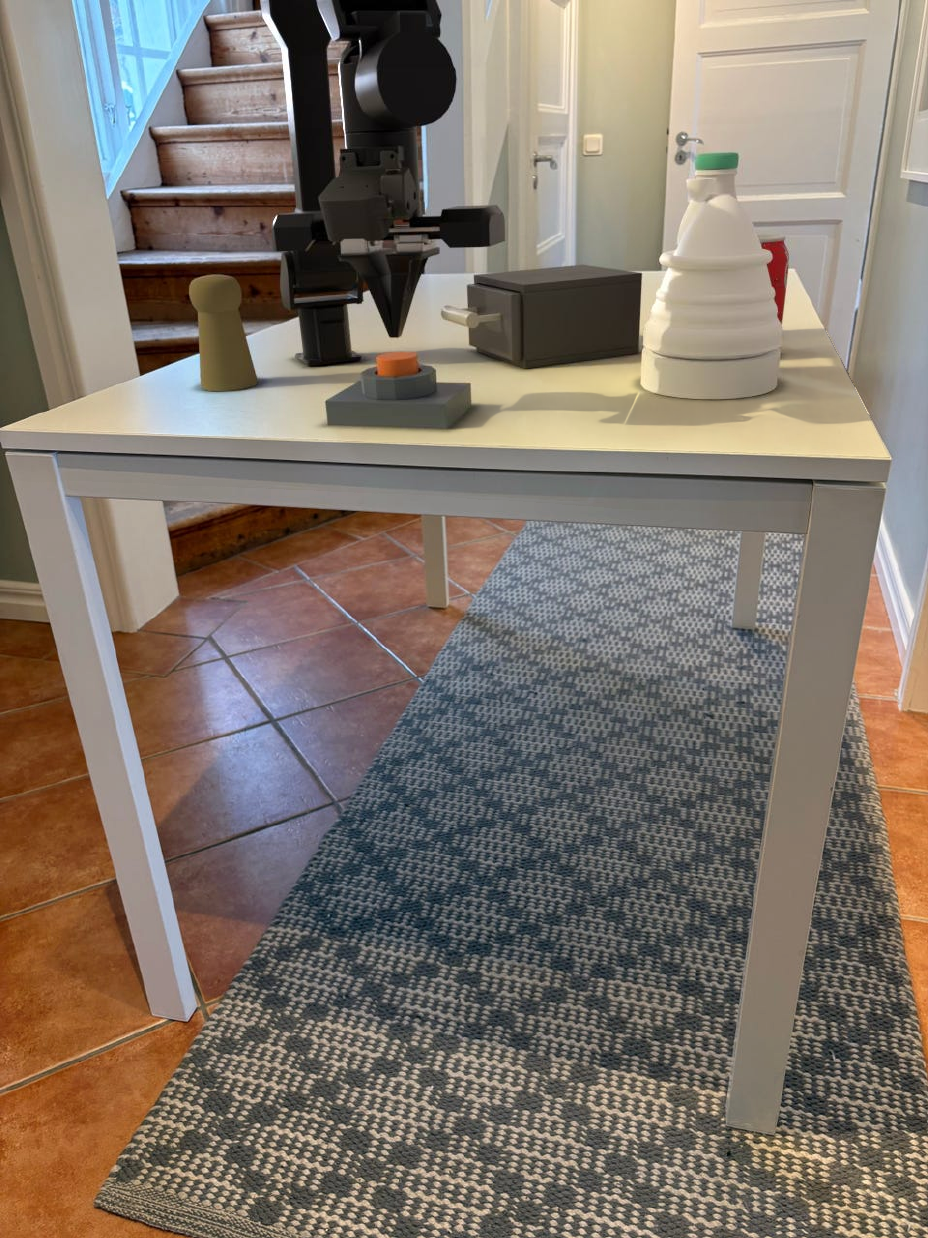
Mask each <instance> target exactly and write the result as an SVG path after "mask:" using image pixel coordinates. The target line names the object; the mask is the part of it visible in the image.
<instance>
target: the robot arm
mask: <svg viewBox="0 0 928 1238" xmlns="http://www.w3.org/2000/svg"><path fill="white" fill-rule="evenodd" d="M259 2H260V10H261V16H262V19H263V20H264V22H265V24H266V25H267V27H268V29H269V30H270V32H271V33H272V35H273V37H274V39H275V40H276V42H277V43H278V45H279V47H280V49H281V57H282V58H281V59H282V68H283V78H284V79H283V80H284V89H285V99H286V100H285V101H286V111H287V122H288V123H287V124H288V132H289V143H290V152H291V154H290V155H291V165H292V175H293V176H292V177H293V185H294V197H295V209H294V211H293V212H287V213H280V214H279V213H278V214H276V216H275V218H274V220H273V221H272V225H271V229H270V234H271V243H272V248H273V252H281V257H280V280H279V291H280V296H281V302H282V306H283V307H284V308H285V309H287V310H288V311H295V310H297V314H298V322H299V331H300V340H301V349H302V352H297V353H294V358H295V359H297V361H300V362H302V363H303V364H304V365H306V366H308V367H313V366H314V367H315V366H320V365H329V364H337V363H345V362H354V361H361V360H362V359H363V358H362V354H360V353H357V352H355V351H354V350H352V341H351V331H350V330H351V329H350V319H349V310H348V309H349V307H348V305H362V304H363V302H365V301H364V283H365V285H366V287H367V289H368V291H369V292H370V295H371V298H372V300H373V302H374V305H375V307H376V310H377V312H378V314H379V316H380V319H381V321H382V323H383V326H384V329H385V331H386V333H387V335H388V337H389V338H391V339H394V338H395V339H399V338H401V337H402V336H403V333H404V329H405V326H406V322H407V319H408V316H409V313H410V309H411V306H412V302H413V299H414V296H415V293H416V289H417V286H418V283H419V282H420V279H421V277H422V274H423V272H424V269H425V267H426V265H427V263H428V260H429V258H431V257H434V256H437V255H440V252H441V251H440V250H441V248H440V246H437V240H441V241H442V242H444V243H445V245H447V247H448V248H449V249H462V248H463V249H464V248H465V249H466V248H467V249H469V248H488V247H492V246H495V245H498V244H500V243H503V242H506V220H505V219H506V218H505V216H504V212H503V210H501V208H500V207H499V206H498V204H490V205H489V204H487V205H459V206H452V207H447V208H442V209H441V212H440V215H426V202H425V201H422V200H421V184H420V183H421V182H420V166H419V165H420V164H419V161H422V160H423V148H422V147H423V146H422V145H418V132H417V128H419V127H425V126H428V125H431V124H433V123H435V122H437V121H438V120H440V119H441V118H442V117H443V116H444V115H445V114H446V113H447V112H448V111H449V109H450V107H451V105H452V103H453V101H454V99H455V94H456V91H457V80H458V79H457V70H456V67H455V66H454V65H455V64H454V63H453V59H452V57H451V55H450V52H449V51H448V50H447V47H446V46H445V45H444V44H443V43H442V42H441V40H440V37H441V35H442V34H441V32H442V31H441V22H442V11H441V8H440V7H439V4H438V2H437V0H259ZM331 41H333V42H348V43H347V45H346V47H345V48H344V50H343V51H342V53H341V54H340V57H339V62H338V68H337V69H338V78H339V91H340V100H341V110H342V123H343V131H344V132H343V133H344V144H345V148H340V149H339V158H338V162H339V172H338V176H337V174H336V160H335V146H334V130H333V116H332V105H331V104H332V103H331V102H332V101H331V90H330V76H329V75H330V74H329V73H330V72H329V62H328V61H329V60H328V48H329V45H330V43H331ZM396 221H402V223H408V224H396V223H395V222H396ZM384 241H393V242H394V243H393V245H395V251H394V248H393V247H383V244H384ZM335 293H341V294H335ZM323 294H329V295H323ZM330 294H331V295H330ZM297 295H298V296H301V297H298V298H297V297H295V296H297ZM310 295H319V296H310ZM302 296H308V297H302Z"/></svg>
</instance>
